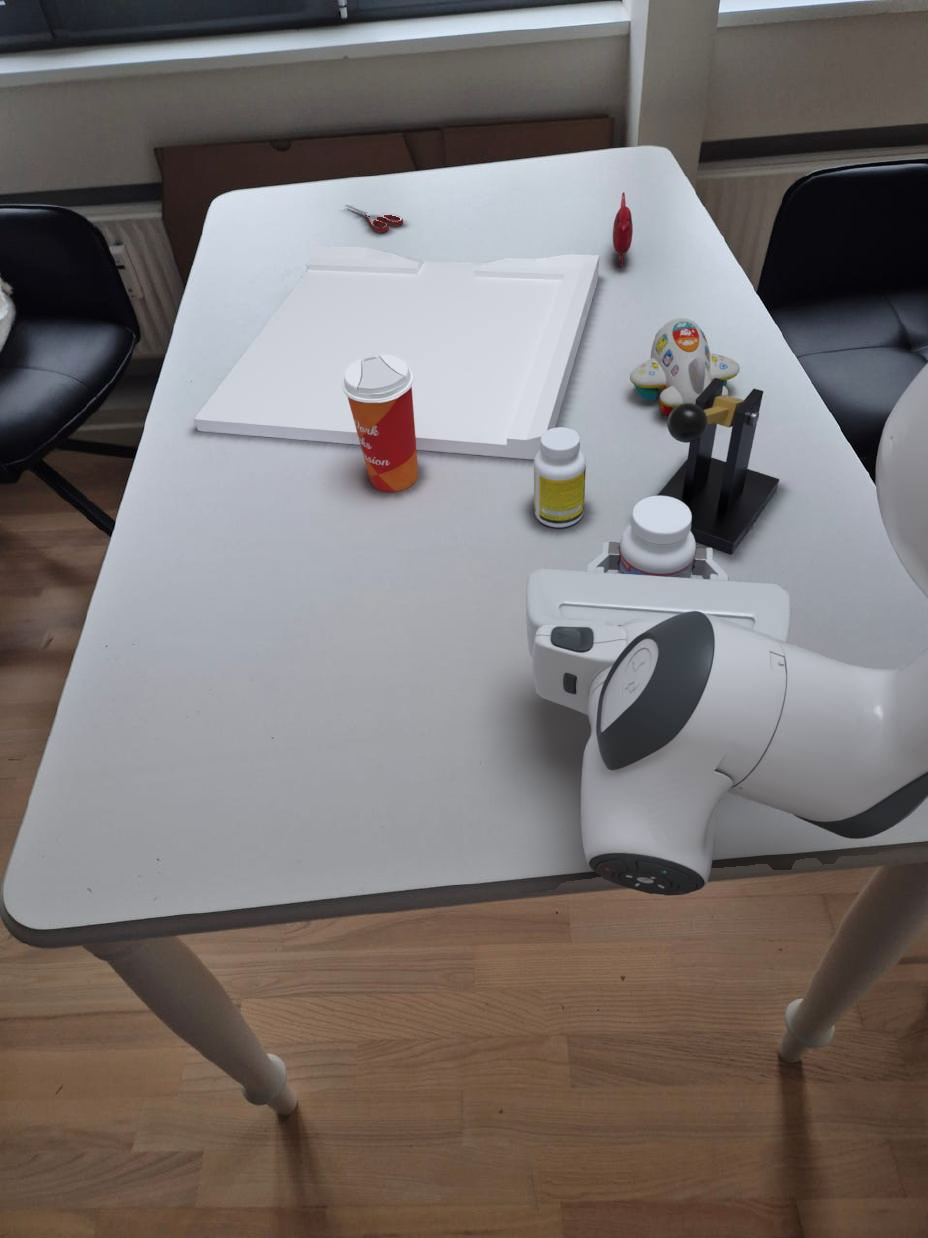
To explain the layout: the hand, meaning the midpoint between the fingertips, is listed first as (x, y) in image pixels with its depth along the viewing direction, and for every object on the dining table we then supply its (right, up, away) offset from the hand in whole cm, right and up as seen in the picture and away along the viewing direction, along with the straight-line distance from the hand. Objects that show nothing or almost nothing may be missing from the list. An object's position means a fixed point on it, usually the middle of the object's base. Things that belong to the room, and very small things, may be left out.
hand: (655, 550), depth 72 cm
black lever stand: (+11, +7, +21) cm, 25 cm away
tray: (-23, +32, +48) cm, 62 cm away
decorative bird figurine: (+8, +51, +63) cm, 81 cm away
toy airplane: (+11, +22, +36) cm, 43 cm away
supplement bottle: (-6, +6, +22) cm, 24 cm away
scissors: (-33, +64, +79) cm, 107 cm away
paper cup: (-24, +11, +29) cm, 39 cm away
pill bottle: (0, -5, +4) cm, 7 cm away
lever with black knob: (+6, +11, +9) cm, 16 cm away
